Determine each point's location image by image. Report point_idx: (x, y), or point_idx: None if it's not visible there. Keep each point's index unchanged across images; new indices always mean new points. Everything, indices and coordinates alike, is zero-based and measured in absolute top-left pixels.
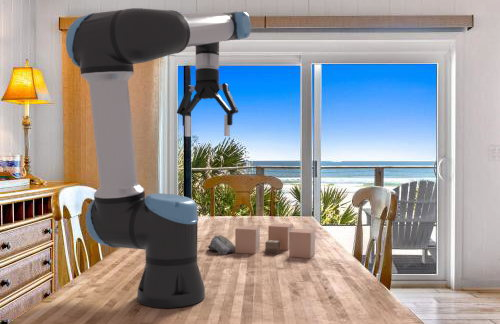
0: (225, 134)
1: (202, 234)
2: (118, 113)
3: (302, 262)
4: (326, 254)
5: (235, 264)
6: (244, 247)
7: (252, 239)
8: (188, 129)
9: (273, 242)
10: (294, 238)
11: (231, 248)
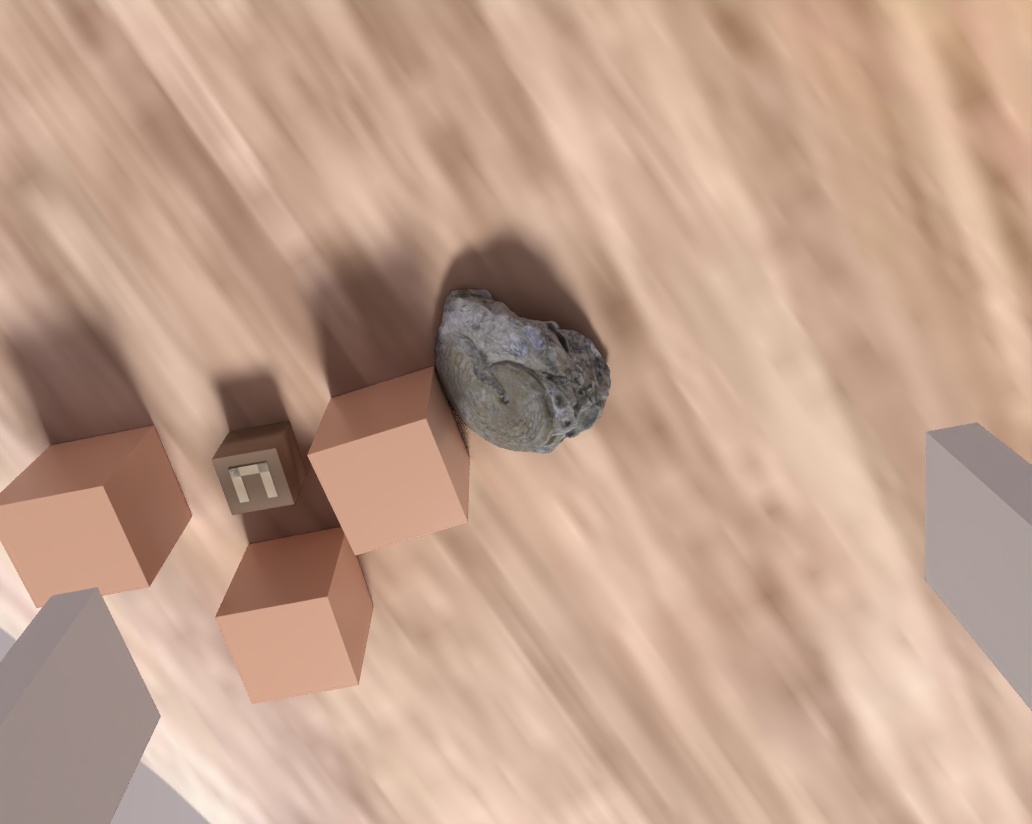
0: (60, 608)
1: (852, 659)
2: None
3: (23, 345)
4: None
5: (262, 126)
6: (383, 392)
7: (335, 424)
8: (1008, 580)
9: (235, 461)
10: (89, 474)
11: (444, 356)
